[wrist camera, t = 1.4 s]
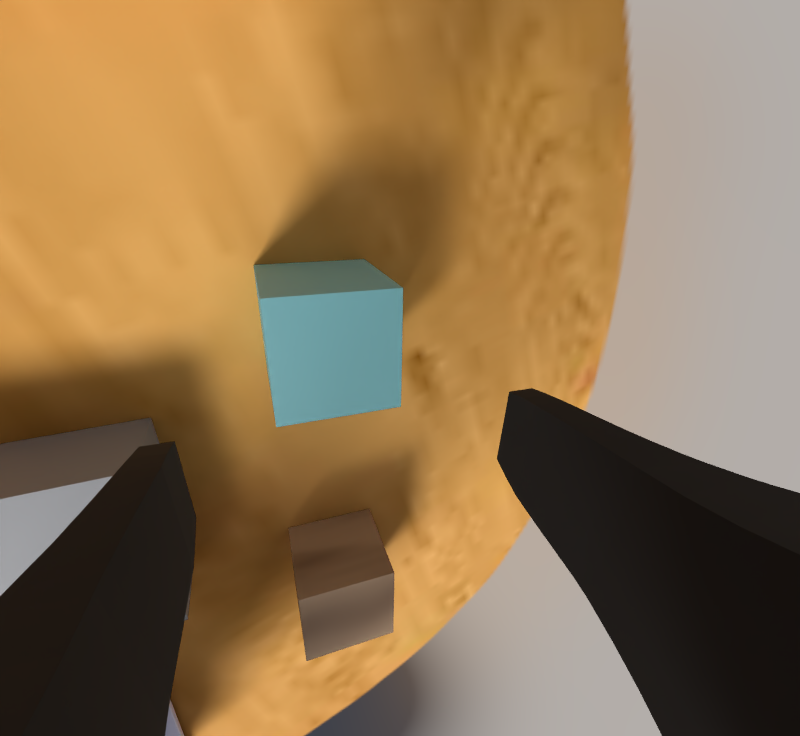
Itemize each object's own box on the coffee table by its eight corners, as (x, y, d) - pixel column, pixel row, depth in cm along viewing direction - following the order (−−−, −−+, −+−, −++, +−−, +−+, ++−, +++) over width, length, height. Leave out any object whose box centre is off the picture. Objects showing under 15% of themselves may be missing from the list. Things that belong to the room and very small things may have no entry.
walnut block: (370, 563, 26) (393, 632, 22) (295, 584, 25) (306, 660, 21) (369, 507, 24) (394, 572, 20) (288, 526, 23) (298, 600, 19)
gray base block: (195, 547, 22) (187, 619, 18) (4, 597, 19) (-45, 690, 16) (152, 413, 18) (132, 471, 15) (-87, 455, 16) (-176, 535, 12)
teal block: (365, 355, 20) (400, 406, 16) (266, 367, 19) (276, 427, 14) (363, 258, 18) (403, 287, 14) (253, 264, 17) (259, 298, 13)
